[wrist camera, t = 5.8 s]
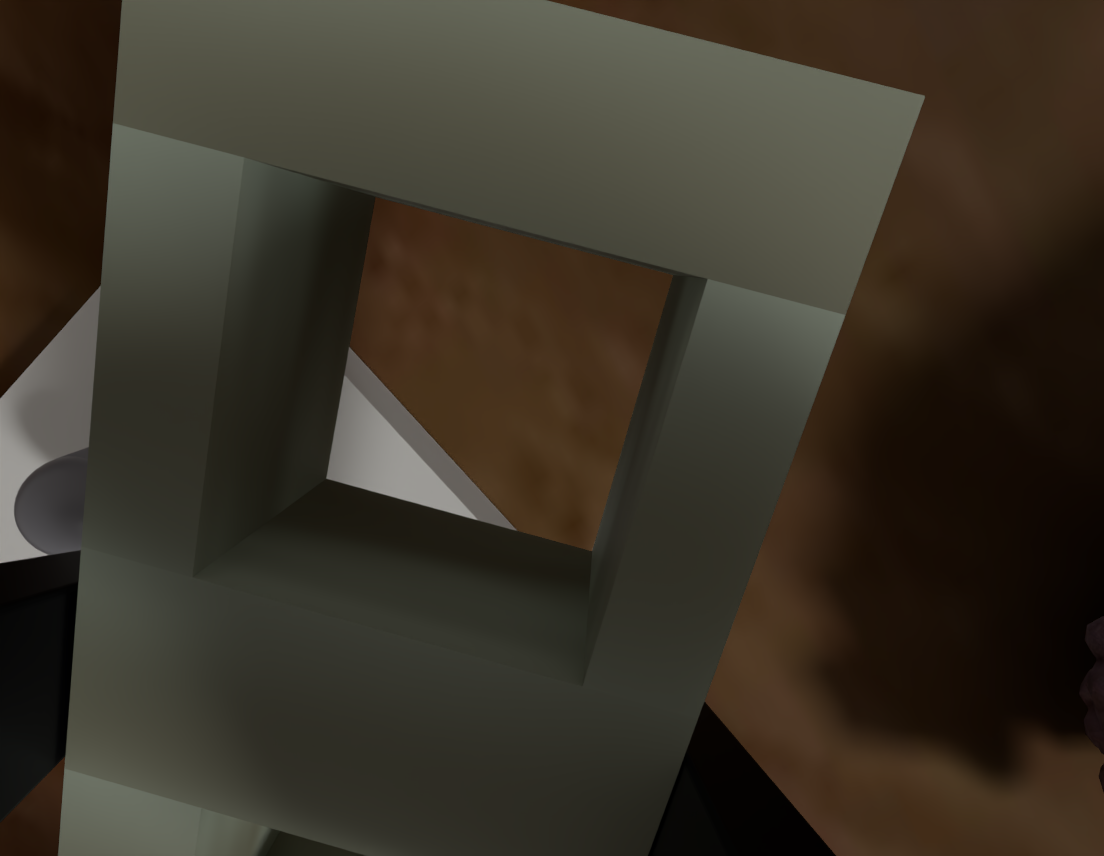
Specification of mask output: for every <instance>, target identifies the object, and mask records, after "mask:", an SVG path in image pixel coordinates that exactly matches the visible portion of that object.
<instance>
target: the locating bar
mask: <svg viewBox="0 0 1104 856" xmlns="http://www.w3.org/2000/svg"><path fill="white" fill-rule="evenodd" d="M924 98H925V96H923V95H919V94H915V93H911V92H907V91H903V90H899V89H895V88H891V87H887V86H883V85H879V84H875V83H871V82H867V81H863V80H859V79H855V78H851V77H847V76H843V75H839V74H835V73H832V72H828V71H824V70H820V69H816V68H812V67H808V66H804V65H800V64H796V63H792V62H788V61H784V60H780V59H776V58H772V57H768V56H764V55H760V54H756V53H752V52H748V51H744V50H740V49H736V48H733V47H729V46H725V45H721V44H717V43H713V42H709V41H705V40H701V39H697V38H693V37H689V36H685V35H681V34H677V33H673V32H669V31H665V30H661V29H657V28H653V27H649V26H645V25H641V24H637V23H634V22H630V21H626V20H622V19H618V18H614V17H610V16H606V15H602V14H598V13H594V12H590V11H586V10H582V9H578V8H574V7H570V6H566V5H562V4H558V3H554V2H550V1H546V0H122V10H121V23H120V36H119V50H118V63H117V76H116V90H115V103H114V116H113V130H112V143H111V156H110V170H109V183H108V196H107V210H106V223H105V236H104V250H103V263H102V276H101V290H100V303H99V316H98V330H97V343H96V356H95V370H94V383H93V396H92V410H91V423H90V436H89V450H88V463H87V476H86V490H85V503H84V516H83V530H82V543H81V556H80V570H79V583H78V596H77V610H76V623H75V636H74V650H73V663H72V676H71V690H70V703H69V716H68V730H67V743H66V756H65V770H64V783H63V796H62V810H61V823H60V836H59V850H58V856H648V854H649V852H650V849H651V846H652V843H653V841H654V838H655V835H656V832H657V830H658V827H659V824H660V821H661V819H662V816H663V813H664V811H665V808H666V805H667V802H668V800H669V797H670V794H671V791H672V789H673V786H674V783H675V780H676V778H677V775H678V772H679V769H680V767H681V764H682V761H683V758H684V756H685V753H686V750H687V748H688V745H689V742H690V739H691V737H692V734H693V731H694V728H695V726H696V723H697V720H698V717H699V715H700V712H701V709H702V706H703V704H704V701H705V698H706V695H707V693H708V690H709V687H710V684H711V682H712V679H713V676H714V674H715V671H716V668H717V665H718V663H719V660H720V657H721V654H722V652H723V649H724V646H725V643H726V641H727V638H728V635H729V632H730V630H731V627H732V624H733V621H734V619H735V616H736V613H737V611H738V608H739V605H740V602H741V600H742V597H743V594H744V591H745V589H746V586H747V583H748V580H749V578H750V575H751V572H752V569H753V567H754V564H755V561H756V558H757V556H758V553H759V550H760V547H761V545H762V542H763V539H764V537H765V534H766V531H767V528H768V526H769V523H770V520H771V517H772V515H773V512H774V509H775V506H776V504H777V501H778V498H779V495H780V493H781V490H782V487H783V484H784V482H785V479H786V476H787V474H788V471H789V468H790V465H791V463H792V460H793V457H794V454H795V452H796V449H797V446H798V443H799V441H800V438H801V435H802V432H803V430H804V427H805V424H806V421H807V419H808V416H809V413H810V410H811V408H812V405H813V402H814V400H815V397H816V394H817V391H818V389H819V386H820V383H821V380H822V378H823V375H824V372H825V369H826V367H827V364H828V361H829V358H830V356H831V353H832V350H833V347H834V345H835V342H836V339H837V337H838V334H839V331H840V328H841V326H842V323H843V320H844V317H845V315H846V312H847V309H848V306H849V304H850V301H851V298H852V295H853V293H854V290H855V287H856V284H857V282H858V279H859V276H860V274H861V271H862V268H863V265H864V263H865V260H866V257H867V254H868V252H869V249H870V246H871V243H872V241H873V238H874V235H875V232H876V230H877V227H878V224H879V221H880V219H881V216H882V213H883V210H884V208H885V205H886V202H887V200H888V197H889V194H890V191H891V189H892V186H893V183H894V180H895V178H896V175H897V172H898V169H899V167H900V164H901V161H902V158H903V156H904V153H905V150H906V147H907V145H908V142H909V139H910V137H911V134H912V131H913V128H914V126H915V123H916V120H917V117H918V115H919V112H920V109H921V106H922V104H923V101H924ZM375 197H378V198H382V199H386V200H389V201H393V202H397V203H401V204H405V205H408V206H412V207H416V208H420V209H424V210H428V211H431V212H435V213H439V214H443V215H447V216H450V217H454V218H458V219H462V220H466V221H470V222H473V223H477V224H481V225H485V226H489V227H492V228H496V229H500V230H504V231H508V232H511V233H515V234H519V235H523V236H527V237H531V238H534V239H538V240H542V241H546V242H550V243H553V244H557V245H561V246H565V247H569V248H572V249H576V250H580V251H584V252H588V253H592V254H595V255H599V256H603V257H607V258H611V259H614V260H618V261H622V262H626V263H630V264H633V265H637V266H641V267H645V268H649V269H653V270H656V271H660V272H664V273H668V274H672V275H673V278H672V282H671V285H670V288H669V292H668V295H667V299H666V302H665V305H664V309H663V312H662V316H661V319H660V322H659V326H658V329H657V333H656V336H655V339H654V343H653V346H652V350H651V353H650V356H649V360H648V363H647V367H646V370H645V374H644V377H643V380H642V384H641V387H640V391H639V394H638V397H637V401H636V404H635V408H634V411H633V414H632V418H631V421H630V425H629V428H628V431H627V435H626V438H625V442H624V445H623V448H622V452H621V455H620V459H619V462H618V465H617V469H616V472H615V476H614V479H613V482H612V486H611V489H610V493H609V496H608V500H607V503H606V506H605V510H604V513H603V517H602V520H601V523H600V527H599V530H598V534H597V537H596V540H595V544H594V547H593V551H589V550H585V549H581V548H578V547H574V546H570V545H567V544H563V543H559V542H556V541H552V540H548V539H545V538H541V537H537V536H534V535H530V534H526V533H523V532H519V531H516V530H512V529H508V528H505V527H501V526H497V525H494V524H490V523H486V522H483V521H479V520H475V519H472V518H468V517H464V516H461V515H457V514H454V513H450V512H446V511H443V510H439V509H435V508H432V507H428V506H424V505H421V504H417V503H413V502H410V501H406V500H402V499H399V498H395V497H392V496H388V495H384V494H381V493H377V492H373V491H370V490H366V489H362V488H359V487H355V486H351V485H348V484H344V483H340V482H337V481H333V480H330V479H326V477H327V472H328V466H329V460H330V454H331V449H332V443H333V437H334V432H335V426H336V420H337V414H338V409H339V403H340V397H341V391H342V386H343V380H344V374H345V368H346V363H347V357H348V351H349V346H350V340H351V334H352V328H353V323H354V317H355V311H356V305H357V300H358V294H359V288H360V283H361V277H362V271H363V265H364V260H365V254H366V248H367V242H368V237H369V231H370V225H371V219H372V214H373V208H374V202H375Z"/></svg>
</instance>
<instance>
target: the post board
mask: <svg viewBox="0 0 1104 856" xmlns="http://www.w3.org/2000/svg"><path fill="white" fill-rule="evenodd" d="M100 290H101V286H100V287H99V288H98V289H97V290H96V292H95V293H94V294H93V295H92V296H91V297H90V298H89V299H88V301H87V302H86V303H85V304H84V305H83V306H82V307H81V308H80V310H79V311H78V312H77V313H76V314H75V315H74V316H73V317H72V319H71V320H70V321H69V322H68V323H67V324H66V325H65V326H64V328H63V329H62V330H61V331H60V332H59V333H58V334H57V335H56V337H55V338H54V339H53V340H52V341H51V342H50V343H49V344H48V346H47V347H46V348H45V349H44V350H43V351H42V352H41V353H40V355H39V356H38V357H37V358H36V359H35V360H34V361H33V362H32V364H31V365H30V366H29V367H28V368H27V369H26V370H25V371H24V373H23V374H22V375H21V376H20V377H19V378H18V379H17V380H16V382H15V383H14V384H13V385H12V386H11V387H10V388H9V389H8V391H7V392H6V393H5V394H4V395H3V396H2V397H1V398H0V563H4V562H10V561H16V560H22V559H28V558H34V557H40V556H46V555H53V554H59V553H65V552H71V551H77V550H81V543H82V530H83V516H84V503H85V490H86V476H87V463H88V450H89V436H90V423H91V410H92V396H93V383H94V370H95V356H96V343H97V330H98V316H99V303H100ZM326 479H330V480H333V481H337V482H340V483H344V484H348V485H351V486H355V487H359V488H362V489H366V490H370V491H373V492H377V493H381V494H384V495H388V496H392V497H395V498H399V499H402V500H406V501H410V502H413V503H417V504H421V505H424V506H428V507H432V508H435V509H439V510H443V511H446V512H450V513H454V514H457V515H461V516H464V517H468V518H472V519H475V520H479V521H483V522H486V523H490V524H494V525H497V526H501V527H505V528H508V529H512V530H516V529H515V528H514V527H513V526H512V525H511V523H510V522H509V521H508V520H507V519H506V518H505V517H504V516H503V515H502V514H501V513H500V511H499V510H498V509H497V508H496V507H495V506H494V505H493V504H492V503H491V502H490V500H489V499H488V498H487V497H486V496H485V495H484V494H483V493H482V492H481V491H480V490H479V488H478V487H477V486H476V485H475V484H474V483H473V482H472V481H471V480H470V479H469V477H468V476H467V475H466V474H465V473H464V472H463V471H462V470H461V469H460V468H459V467H458V465H457V464H456V463H455V462H454V461H453V460H452V459H451V458H450V457H449V456H448V454H447V453H446V452H445V451H444V450H443V449H442V448H441V447H440V446H439V445H438V444H437V442H436V441H435V440H434V439H433V438H432V437H431V436H430V435H429V434H428V433H427V431H426V430H425V429H424V428H423V427H422V426H421V425H420V424H419V423H418V422H417V421H416V419H415V418H414V417H413V416H412V415H411V414H410V413H409V412H408V411H407V410H406V408H405V407H404V406H403V405H402V404H401V403H400V402H399V401H398V400H397V399H396V398H395V396H394V395H393V394H392V393H391V392H390V391H389V390H388V389H387V388H386V387H385V386H384V384H383V383H382V382H381V381H380V380H379V379H378V378H377V377H376V376H375V375H374V373H373V372H372V371H371V370H370V369H369V368H368V367H367V366H366V365H365V364H364V363H363V361H362V360H361V359H360V358H359V357H358V356H357V355H356V354H355V353H354V352H353V350H352V349H351V348H350V347H349V351H348V357H347V363H346V368H345V374H344V380H343V386H342V391H341V397H340V403H339V409H338V414H337V420H336V426H335V432H334V437H333V443H332V449H331V454H330V460H329V466H328V472H327V477H326ZM516 531H517V530H516Z"/></svg>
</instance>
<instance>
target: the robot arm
mask: <svg viewBox="0 0 1104 856" xmlns="http://www.w3.org/2000/svg"><path fill="white" fill-rule="evenodd" d="M80 556H81V550H77V551H71V552H65V553H59V554H53V555H46V556H40V557H34V558H28V559H22V560H16V561H10V562H4V563H0V822H1V821H2V820H3V819H4V818H5V817H6V816H7V815H8V814H9V813H10V812H11V811H12V810H13V809H14V808H15V807H16V806H17V805H18V804H19V803H20V802H21V801H22V800H23V799H24V798H25V797H26V796H27V795H28V794H29V793H30V792H31V791H32V790H33V789H34V788H35V786H36V785H37V784H38V783H39V782H40V781H41V780H42V779H43V778H44V777H45V776H46V775H47V774H48V773H49V772H50V771H51V770H52V769H53V768H54V767H55V766H56V765H57V764H58V763H59V762H60V761H61V760H62V759H63V758H64V757H65V756H66V743H67V730H68V716H69V703H70V690H71V676H72V663H73V650H74V636H75V623H76V610H77V596H78V583H79V570H80ZM648 856H836V855H835V854H834V853H833V852H832V850H831V849H830V848H829V847H828V846H827V844H826V843H825V842H824V841H823V840H822V839H821V837H820V836H819V835H818V834H817V833H816V832H815V830H814V829H813V828H812V827H811V826H810V825H809V823H808V822H807V821H806V820H805V819H804V817H803V816H802V815H801V814H800V813H799V812H798V810H797V809H796V808H795V807H794V806H793V805H792V803H791V802H790V801H789V800H788V799H787V798H786V796H785V795H784V794H783V793H782V792H781V791H780V789H779V788H778V787H777V786H776V785H775V783H774V782H773V781H772V780H771V779H770V778H769V776H768V775H767V774H766V773H765V772H764V771H763V769H762V768H761V767H760V766H759V765H758V764H757V762H756V761H755V760H754V759H753V758H752V756H751V755H750V754H749V753H748V752H747V751H746V749H745V748H744V747H743V746H742V745H741V744H740V742H739V741H738V740H737V739H736V738H735V737H734V735H733V734H732V733H731V732H730V731H729V729H728V728H727V727H726V726H725V725H724V724H723V722H722V721H721V720H720V719H719V718H718V717H717V715H716V714H715V713H714V712H713V711H712V710H711V708H710V707H709V706H708V705H707V704H706V702H705V701H704V704H703V706H702V709H701V712H700V715H699V717H698V720H697V723H696V726H695V728H694V731H693V734H692V737H691V739H690V742H689V745H688V748H687V750H686V753H685V756H684V758H683V761H682V764H681V767H680V769H679V772H678V775H677V778H676V780H675V783H674V786H673V789H672V791H671V794H670V797H669V800H668V802H667V805H666V808H665V811H664V813H663V816H662V819H661V821H660V824H659V827H658V830H657V832H656V835H655V838H654V841H653V843H652V846H651V849H650V852H649V854H648Z"/></svg>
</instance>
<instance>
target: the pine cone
mask: <svg viewBox="0 0 1104 856" xmlns="http://www.w3.org/2000/svg"><path fill="white" fill-rule="evenodd" d="M1085 641H1086V643H1087V645H1088V647H1089V649H1090V650H1091V652H1092V653H1093V655H1094V656H1095V658H1096V660H1097V661H1096V662H1095V664H1094V666H1093V668H1092V669H1090V670H1089V671H1088V673H1087V674H1086V676H1085V678H1084V680H1083V681H1082V683H1081V685H1080V690H1079V695H1080V696H1081V698H1082V699H1083V701H1084V703H1085V704H1086V706H1087V707H1088V709H1089V710H1088V712H1087V714H1086V716H1085V718H1084V725H1085V732H1086V735H1087V736H1088V738H1089V739H1090V740H1091V741H1092V742H1093V744H1094V745H1095V746H1096V747H1098V748H1099V750H1100V751H1101V753H1102V754H1104V616H1102V617H1100V618H1099V619H1097V620H1095V621H1093V622H1092V623H1090V624H1088V625H1087V629H1086V635H1085ZM1099 779H1100V782H1101V785H1102V789H1103V792H1104V764H1103V765H1102V766H1101V769H1100V774H1099Z"/></svg>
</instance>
